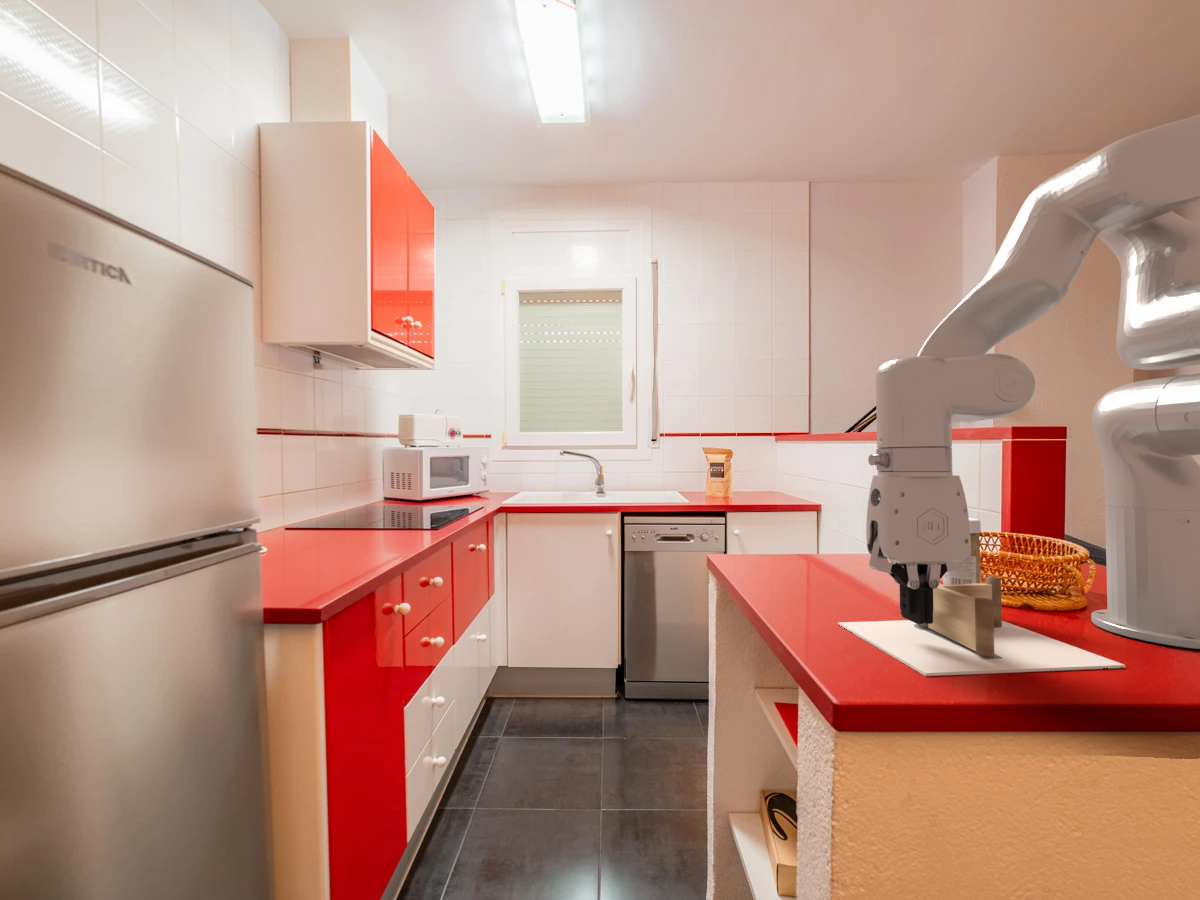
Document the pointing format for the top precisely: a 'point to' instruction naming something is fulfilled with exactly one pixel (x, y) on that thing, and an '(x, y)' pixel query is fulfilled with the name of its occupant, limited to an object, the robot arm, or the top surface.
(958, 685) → the top surface
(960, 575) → the sprinkles bottle
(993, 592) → the fixed fence
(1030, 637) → the board
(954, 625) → the fence panel
